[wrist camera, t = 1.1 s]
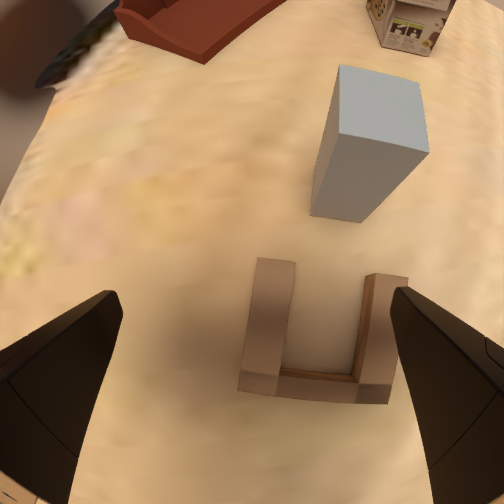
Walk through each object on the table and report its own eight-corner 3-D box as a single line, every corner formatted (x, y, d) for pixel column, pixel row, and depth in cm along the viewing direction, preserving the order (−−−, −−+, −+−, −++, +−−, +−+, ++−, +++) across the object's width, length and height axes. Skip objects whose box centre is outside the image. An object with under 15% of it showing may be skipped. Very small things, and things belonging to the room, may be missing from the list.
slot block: (377, 394, 20) (387, 404, 18) (241, 381, 21) (237, 390, 19) (395, 280, 21) (408, 277, 19) (259, 262, 22) (257, 257, 20)
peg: (360, 223, 22) (429, 152, 11) (310, 215, 23) (338, 132, 11) (362, 175, 23) (419, 82, 11) (314, 168, 23) (339, 64, 12)
